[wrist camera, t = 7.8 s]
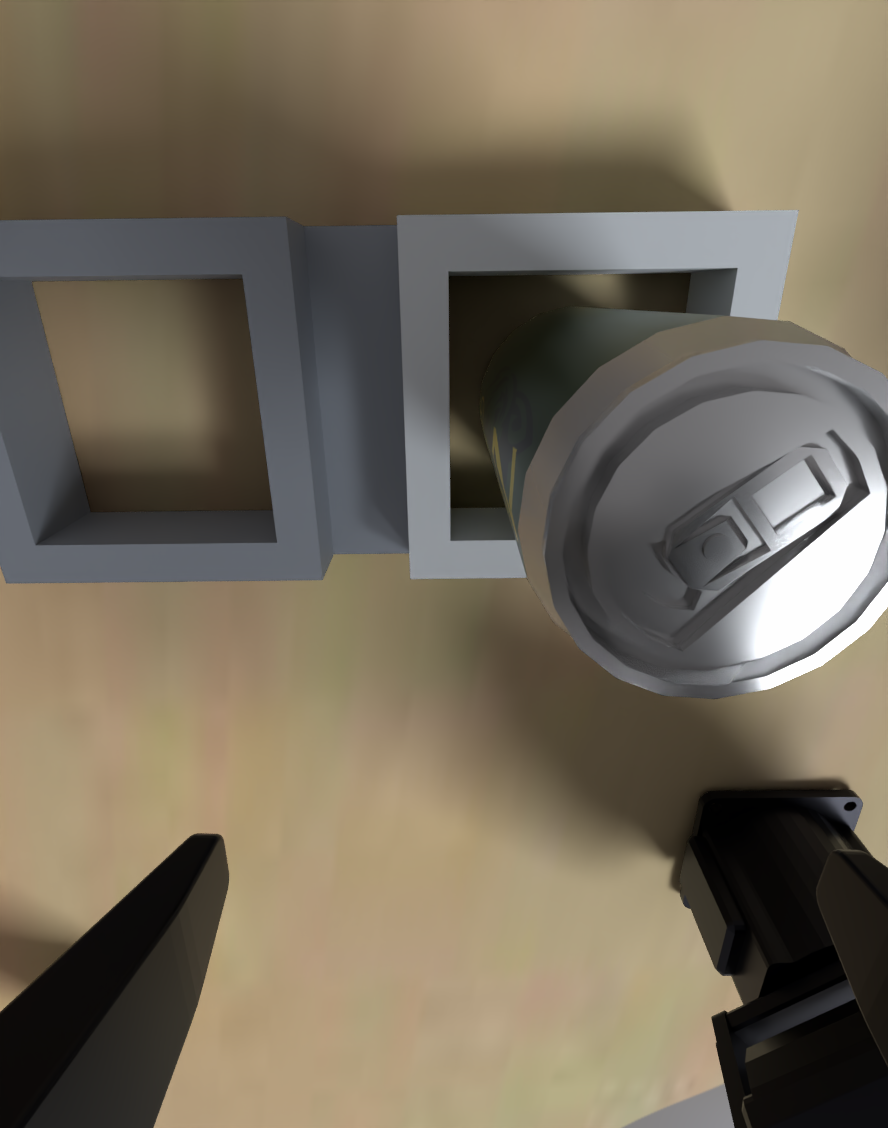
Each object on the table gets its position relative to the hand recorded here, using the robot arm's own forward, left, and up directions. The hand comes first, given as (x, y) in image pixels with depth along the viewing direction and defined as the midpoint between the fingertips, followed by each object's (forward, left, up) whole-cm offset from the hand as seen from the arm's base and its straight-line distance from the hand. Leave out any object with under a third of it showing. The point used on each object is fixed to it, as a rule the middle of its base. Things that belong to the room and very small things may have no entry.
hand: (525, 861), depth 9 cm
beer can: (-3, -5, -13) cm, 14 cm away
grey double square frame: (+4, -5, -13) cm, 14 cm away
